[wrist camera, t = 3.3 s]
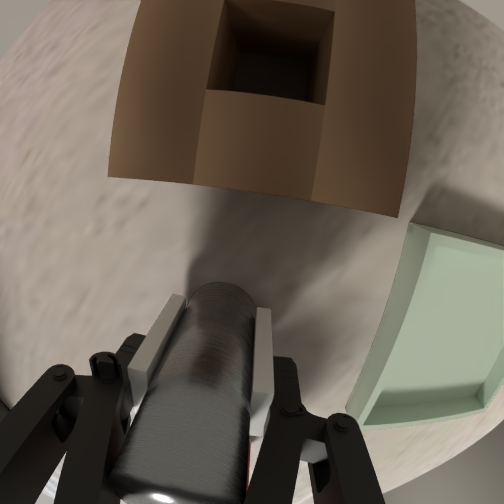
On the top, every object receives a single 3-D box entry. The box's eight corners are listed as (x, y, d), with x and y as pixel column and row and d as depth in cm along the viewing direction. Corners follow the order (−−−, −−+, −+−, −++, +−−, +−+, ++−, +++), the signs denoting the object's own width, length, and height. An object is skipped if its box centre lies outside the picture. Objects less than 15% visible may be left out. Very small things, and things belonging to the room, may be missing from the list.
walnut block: (181, 167, 15) (107, 176, 7) (204, 30, 13) (161, -53, 5) (332, 189, 15) (397, 217, 7) (350, 51, 13) (412, -19, 5)
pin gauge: (187, 335, 18) (121, 508, 6) (190, 277, 17) (92, 454, 5) (251, 345, 18) (237, 532, 6) (260, 287, 17) (254, 490, 5)
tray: (345, 407, 19) (351, 431, 17) (409, 222, 15) (431, 232, 13) (473, 396, 20) (484, 412, 17) (535, 255, 15) (554, 265, 13)
